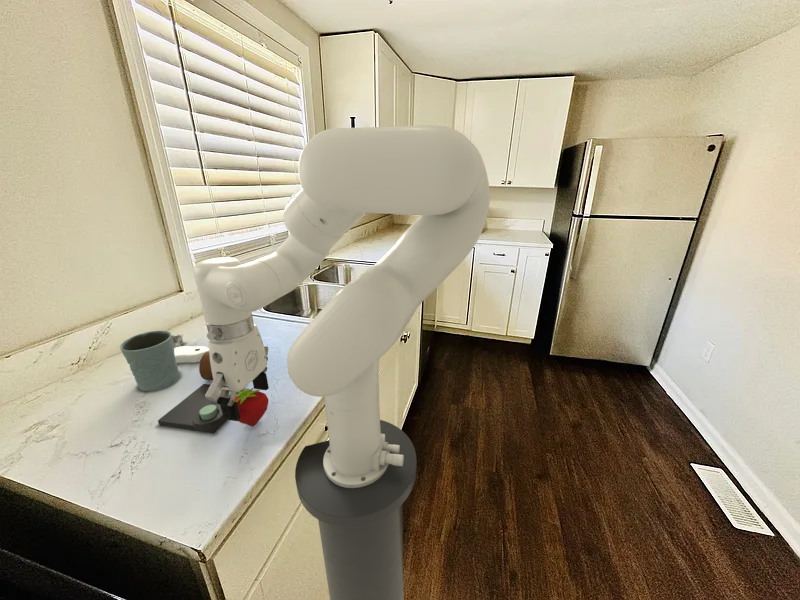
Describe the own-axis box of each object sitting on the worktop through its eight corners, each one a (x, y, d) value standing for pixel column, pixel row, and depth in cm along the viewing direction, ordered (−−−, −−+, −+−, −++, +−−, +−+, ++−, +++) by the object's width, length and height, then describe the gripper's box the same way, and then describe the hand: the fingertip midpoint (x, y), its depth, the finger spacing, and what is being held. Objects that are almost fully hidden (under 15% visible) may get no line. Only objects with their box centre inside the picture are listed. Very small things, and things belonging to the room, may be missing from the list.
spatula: (270, 352, 96) (269, 343, 95) (263, 362, 91) (262, 353, 90) (173, 354, 95) (171, 345, 94) (161, 364, 90) (158, 355, 89)
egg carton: (159, 345, 100) (155, 333, 99) (187, 341, 103) (184, 329, 101) (147, 362, 91) (142, 349, 90) (177, 358, 93) (174, 345, 92)
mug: (258, 374, 90) (224, 374, 90) (258, 346, 91) (225, 347, 91) (237, 383, 78) (198, 383, 78) (237, 351, 79) (198, 351, 79)
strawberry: (272, 431, 66) (264, 390, 62) (231, 440, 64) (220, 398, 60) (272, 412, 71) (265, 373, 68) (235, 420, 69) (225, 380, 65)
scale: (256, 394, 77) (254, 383, 76) (214, 438, 64) (211, 426, 63) (205, 388, 80) (202, 378, 79) (155, 429, 67) (151, 417, 66)
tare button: (221, 411, 68) (219, 405, 67) (210, 421, 65) (208, 415, 65) (208, 409, 68) (206, 403, 68) (197, 419, 66) (195, 413, 65)
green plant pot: (171, 366, 89) (159, 327, 85) (191, 377, 84) (179, 336, 80) (127, 385, 81) (112, 343, 77) (146, 399, 76) (130, 354, 72)
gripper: (215, 351, 51) (236, 437, 57) (275, 309, 67) (286, 380, 73) (174, 347, 52) (199, 431, 58) (242, 306, 68) (256, 376, 74)
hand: (247, 402), depth 66 cm, fingers open, 9 cm apart
